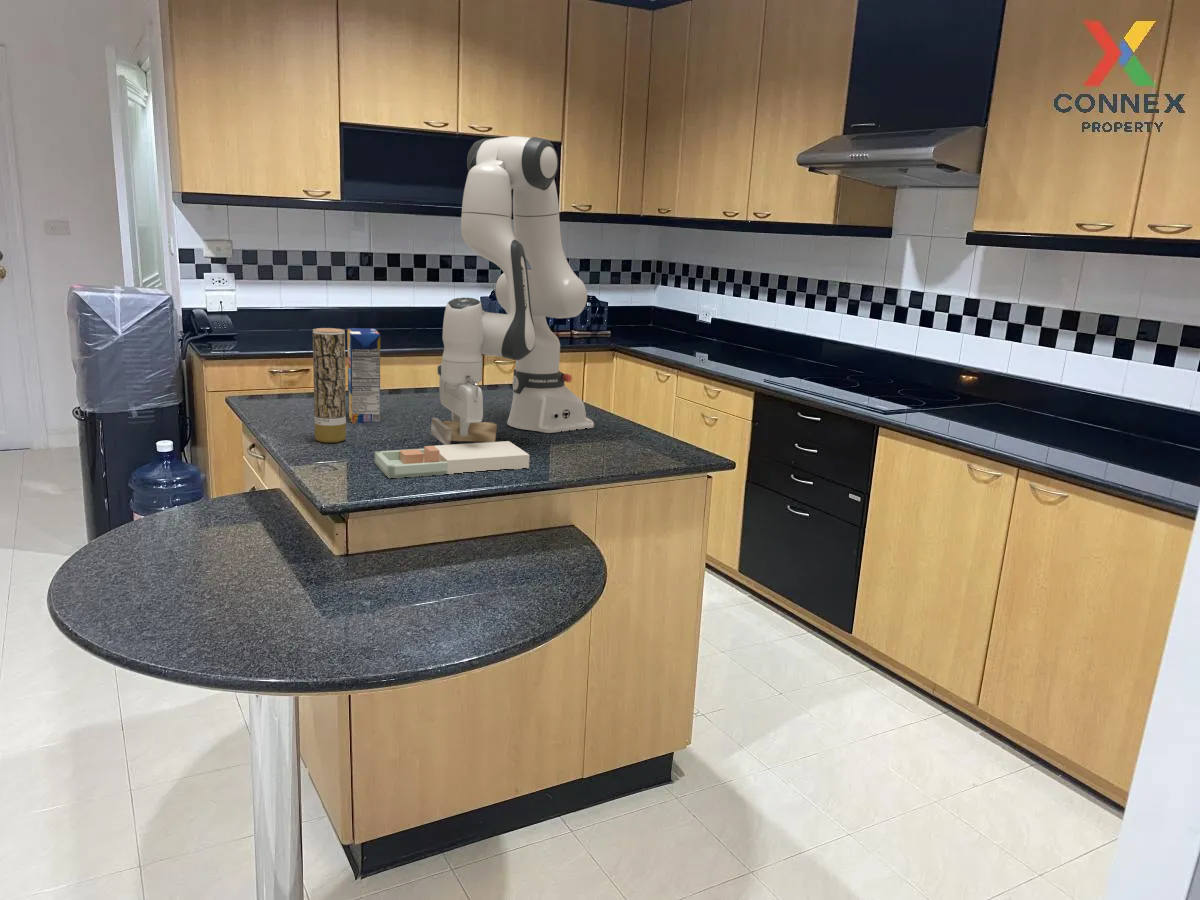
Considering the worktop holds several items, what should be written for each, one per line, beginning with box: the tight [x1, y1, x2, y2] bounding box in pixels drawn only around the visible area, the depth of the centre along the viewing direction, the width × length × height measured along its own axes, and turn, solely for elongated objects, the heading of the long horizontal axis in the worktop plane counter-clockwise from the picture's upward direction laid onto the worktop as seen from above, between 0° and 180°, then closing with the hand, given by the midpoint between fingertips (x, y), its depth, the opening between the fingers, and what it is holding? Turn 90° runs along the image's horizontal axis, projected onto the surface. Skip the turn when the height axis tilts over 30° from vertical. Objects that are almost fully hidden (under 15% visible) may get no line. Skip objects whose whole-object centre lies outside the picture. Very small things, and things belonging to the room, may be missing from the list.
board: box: [434, 440, 530, 475], centre depth 190 cm, size 18×12×3 cm, turn 117°
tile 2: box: [423, 445, 440, 463], centre depth 182 cm, size 4×4×2 cm
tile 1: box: [399, 448, 424, 464], centre depth 186 cm, size 4×4×2 cm
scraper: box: [430, 417, 498, 445], centre depth 200 cm, size 13×11×4 cm
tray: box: [373, 448, 448, 480], centre depth 183 cm, size 12×12×2 cm
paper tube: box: [312, 327, 347, 444], centre depth 199 cm, size 7×7×25 cm
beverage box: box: [346, 327, 381, 424], centre depth 222 cm, size 7×11×22 cm, turn 20°
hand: (460, 433), depth 200 cm, fingers closed on scraper, 2 cm apart
